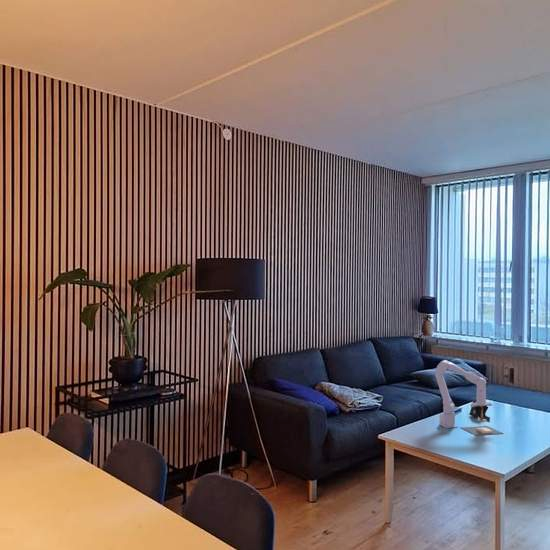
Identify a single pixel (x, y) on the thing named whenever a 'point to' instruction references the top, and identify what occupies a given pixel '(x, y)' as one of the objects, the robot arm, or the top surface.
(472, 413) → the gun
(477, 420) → the tamper
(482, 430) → the tile
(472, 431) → the mat
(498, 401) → the top surface
